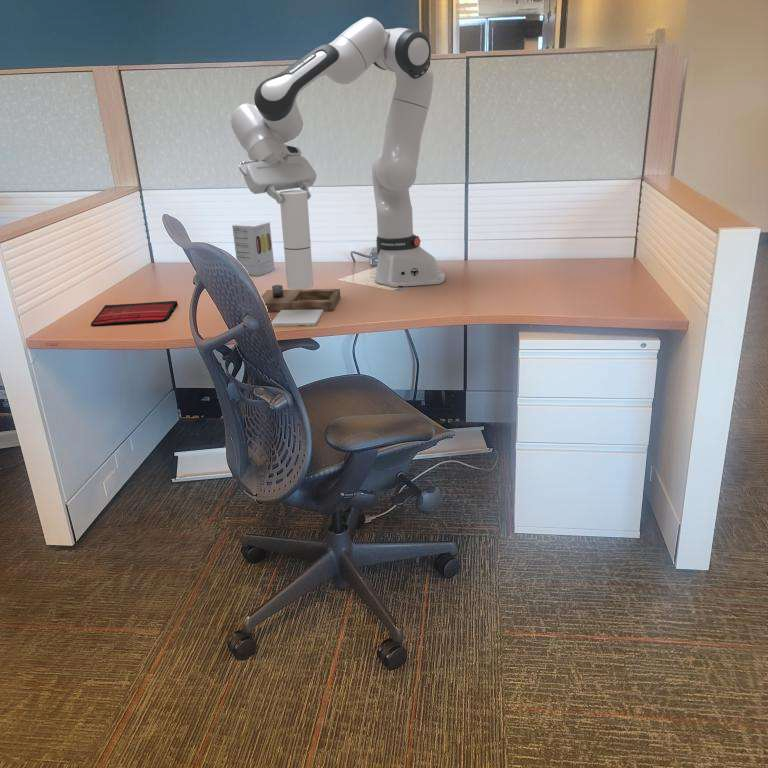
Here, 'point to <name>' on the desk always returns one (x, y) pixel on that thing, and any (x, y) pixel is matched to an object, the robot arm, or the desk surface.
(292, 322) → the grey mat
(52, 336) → the desk surface
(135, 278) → the desk surface
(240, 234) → the supplement box
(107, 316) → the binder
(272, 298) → the walnut board
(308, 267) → the cylindrical container
